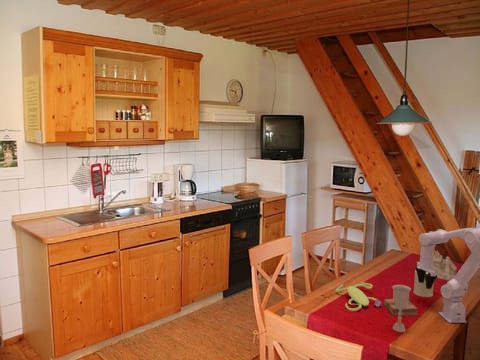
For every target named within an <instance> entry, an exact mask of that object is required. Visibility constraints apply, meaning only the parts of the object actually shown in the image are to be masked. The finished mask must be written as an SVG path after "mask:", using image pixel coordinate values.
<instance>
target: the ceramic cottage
mask: <svg viewBox="0 0 480 360" xmlns="http://www.w3.org/2000/svg"><path fill="white" fill-rule="evenodd" d="M435 252H436V253H434V257H433V268H434V271H435V272H436V275H437V278H436V279H440V280H445V281H447V282H449V281H450V280H452V279H453V278H454V277H455V276H456V274H457V266H456V265H455V264H454V263H453V261H452V260H451V258H450V257H449V256H446V257H445V259H444V257H443V255H441V254H440V253H439V251H438V250H436V251H435Z"/></svg>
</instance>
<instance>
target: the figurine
mask: <svg viewBox="0 0 480 360" xmlns="http://www.w3.org/2000/svg"><path fill="white" fill-rule="evenodd" d="M343 287H344V284H343V283H342V284H340V285H338V287H336V289H335V290H334V292H335V293H341V292H344V291H346V292H347V293H348V295H349V296H350V297H351V298H349V300H348V303H347V302H345V308H346V309H347V310H348V311H351V312H357V311H359V310H361V309H362V306H364V307H367V306H369V304H370V301H369V300H372V301H374V303H373V305H374V306H376V307H377V308H380V307H381V306H382V304H383V303H382V302H381V300H380V299H377V298H374V297H369V296H367V295H366V294H365V293H364V292H363V291H362V290H360V289H359V288H357V287H363V288H365V289H368V290H372V289H373V284H371V283H367V282H363V281H360V282H359V283H357V284H354V285H353V286H352V285H351V286H348V287H344V288H343ZM352 301H355V302H356V303H352ZM348 305H352V306H353V305H354V306H356V305H357V306H358V307H355V308H353V307H352V308H350V307H349V306H348Z"/></svg>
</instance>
